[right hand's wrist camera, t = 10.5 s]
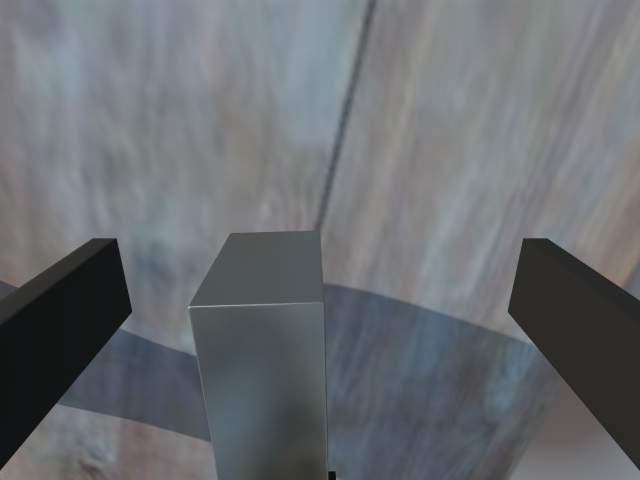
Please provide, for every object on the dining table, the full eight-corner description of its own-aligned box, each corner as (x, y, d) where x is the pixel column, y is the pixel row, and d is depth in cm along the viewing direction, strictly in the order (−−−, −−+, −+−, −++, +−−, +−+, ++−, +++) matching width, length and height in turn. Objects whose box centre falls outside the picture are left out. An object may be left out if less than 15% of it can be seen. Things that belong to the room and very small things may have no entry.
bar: (229, 232, 24) (187, 306, 15) (320, 230, 24) (324, 302, 15) (262, 509, 33) (246, 647, 25) (327, 507, 33) (332, 644, 25)
